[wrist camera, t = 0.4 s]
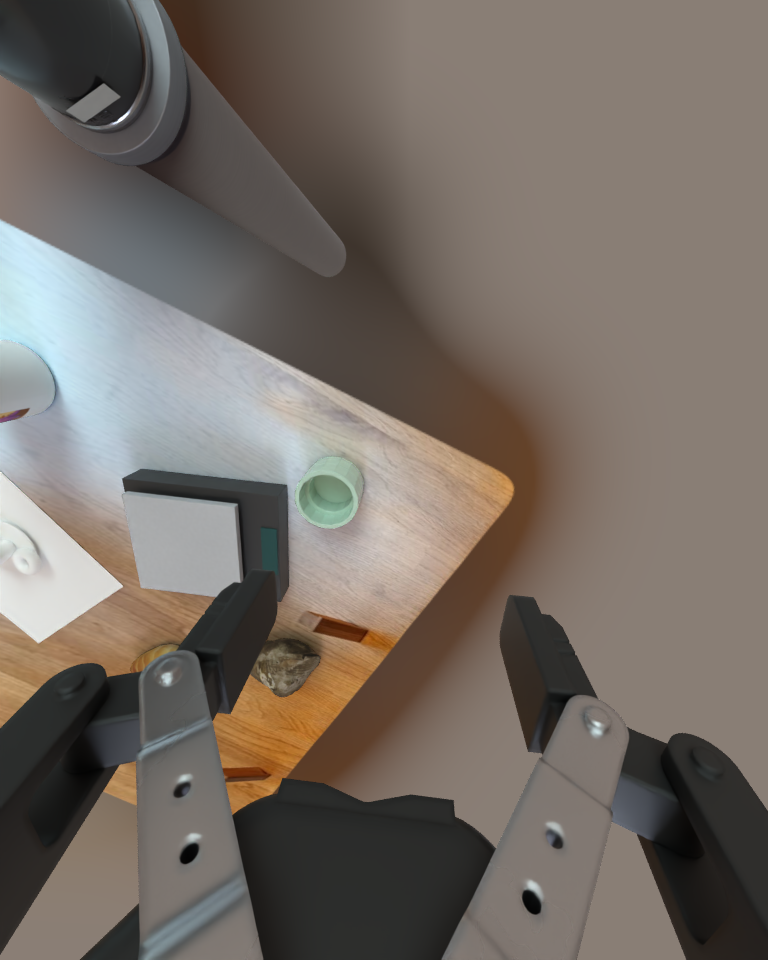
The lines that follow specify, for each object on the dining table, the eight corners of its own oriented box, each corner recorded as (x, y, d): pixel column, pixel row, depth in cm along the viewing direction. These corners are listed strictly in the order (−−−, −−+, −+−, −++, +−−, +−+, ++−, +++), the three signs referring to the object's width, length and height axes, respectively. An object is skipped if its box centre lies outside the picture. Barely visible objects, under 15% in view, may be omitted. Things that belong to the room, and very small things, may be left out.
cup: (308, 452, 40) (294, 467, 35) (366, 458, 39) (359, 474, 35) (307, 504, 42) (295, 524, 38) (362, 510, 42) (356, 532, 37)
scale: (141, 468, 42) (110, 484, 38) (287, 484, 41) (272, 502, 37) (159, 570, 47) (133, 593, 43) (288, 586, 47) (276, 611, 42)
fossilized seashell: (315, 639, 46) (245, 625, 49) (298, 699, 43) (222, 681, 45) (330, 653, 52) (267, 640, 55) (316, 707, 48) (249, 690, 51)
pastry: (152, 681, 55) (134, 705, 52) (128, 648, 53) (108, 670, 50) (205, 672, 54) (190, 695, 50) (183, 637, 52) (166, 659, 48)
